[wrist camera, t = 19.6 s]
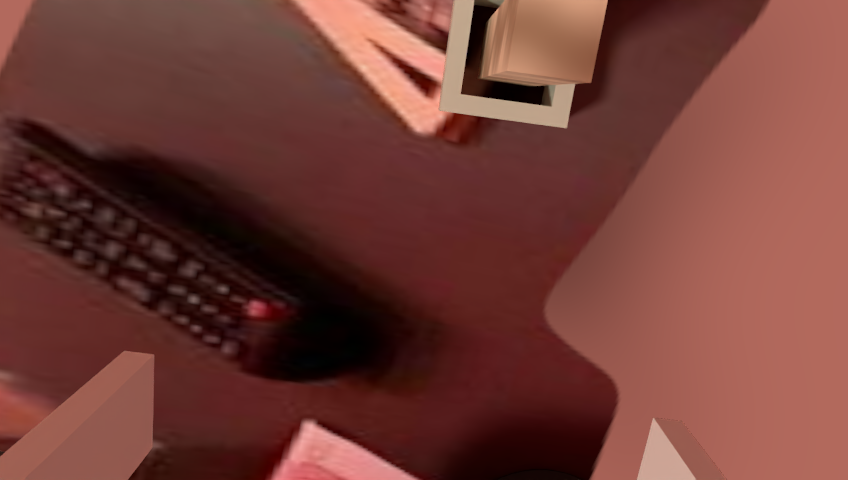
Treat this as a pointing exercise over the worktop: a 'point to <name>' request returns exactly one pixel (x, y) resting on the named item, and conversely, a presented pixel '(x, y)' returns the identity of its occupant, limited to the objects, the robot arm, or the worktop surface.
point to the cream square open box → (451, 99)
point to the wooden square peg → (542, 42)
